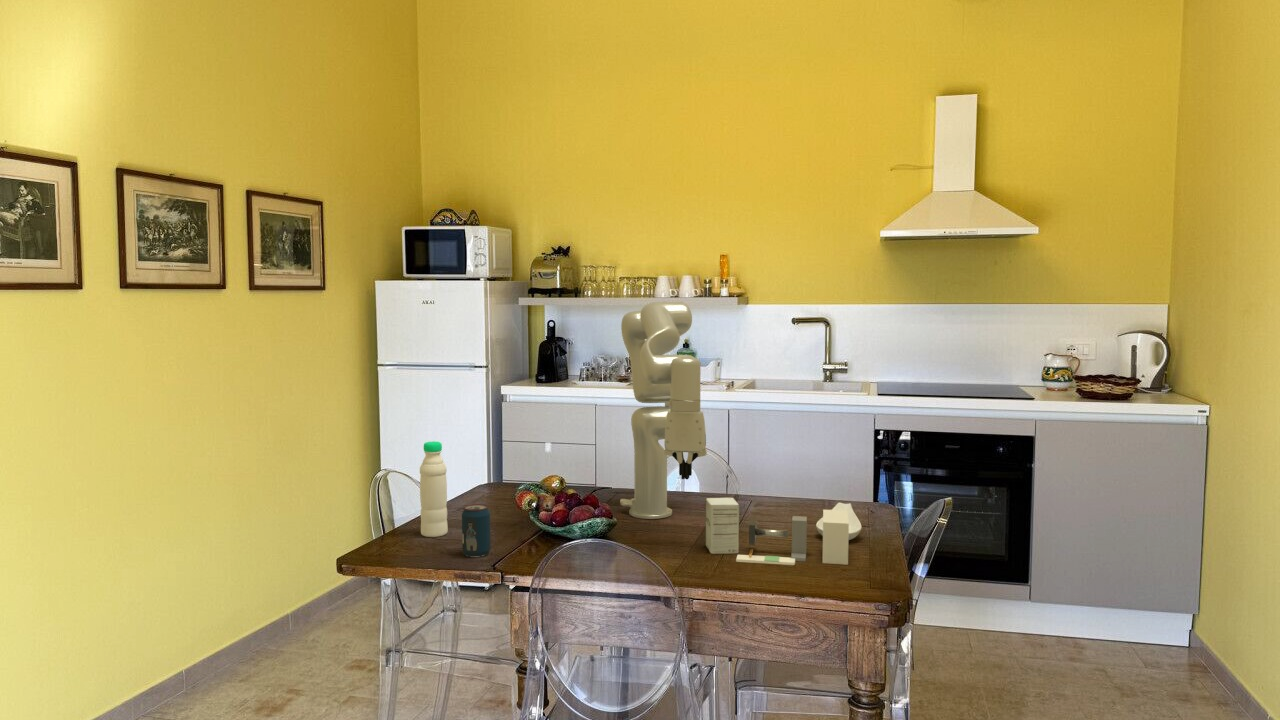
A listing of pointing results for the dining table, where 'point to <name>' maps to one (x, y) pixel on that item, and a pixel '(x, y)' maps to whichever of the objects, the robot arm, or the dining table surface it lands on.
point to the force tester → (832, 541)
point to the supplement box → (722, 525)
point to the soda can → (476, 530)
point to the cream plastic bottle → (433, 492)
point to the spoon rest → (852, 518)
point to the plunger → (762, 533)
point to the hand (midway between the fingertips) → (685, 478)
